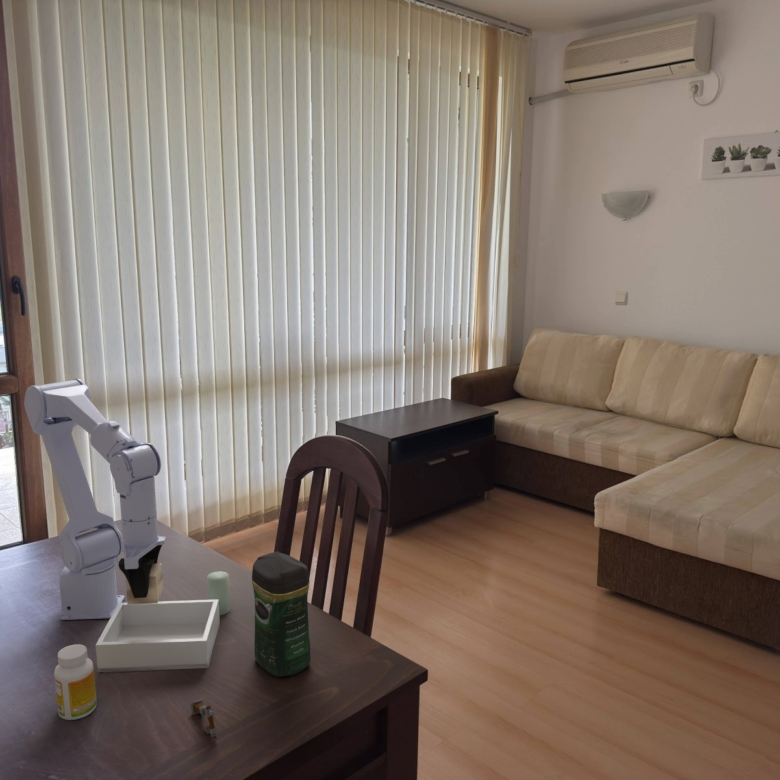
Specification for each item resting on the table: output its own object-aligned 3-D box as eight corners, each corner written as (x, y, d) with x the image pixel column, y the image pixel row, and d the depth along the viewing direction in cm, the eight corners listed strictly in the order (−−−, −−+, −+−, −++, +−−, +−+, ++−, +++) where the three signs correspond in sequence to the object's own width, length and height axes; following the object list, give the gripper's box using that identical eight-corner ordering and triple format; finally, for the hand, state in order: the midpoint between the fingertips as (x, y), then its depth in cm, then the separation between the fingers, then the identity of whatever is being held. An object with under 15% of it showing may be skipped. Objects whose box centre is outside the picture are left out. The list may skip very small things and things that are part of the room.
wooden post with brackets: (210, 742, 100) (204, 709, 101) (195, 732, 107) (190, 701, 108) (222, 737, 101) (217, 704, 102) (207, 728, 108) (201, 697, 109)
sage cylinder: (207, 615, 135) (205, 581, 133) (210, 605, 139) (208, 571, 137) (228, 615, 135) (227, 580, 134) (231, 604, 139) (230, 571, 138)
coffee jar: (318, 666, 119) (317, 563, 115) (277, 685, 114) (274, 577, 110) (287, 641, 127) (285, 543, 123) (247, 658, 122) (243, 556, 118)
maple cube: (127, 604, 123) (125, 577, 122) (134, 590, 128) (132, 564, 127) (157, 603, 123) (155, 576, 122) (163, 589, 128) (161, 563, 127)
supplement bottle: (103, 699, 111) (98, 642, 108) (85, 722, 105) (80, 663, 103) (70, 696, 111) (64, 640, 109) (50, 719, 106) (44, 660, 104)
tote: (97, 672, 117) (95, 645, 116) (121, 627, 130) (119, 602, 129) (207, 668, 119) (206, 640, 118) (219, 624, 132) (218, 599, 131)
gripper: (154, 531, 116) (159, 608, 119) (171, 499, 130) (175, 569, 133) (108, 533, 115) (115, 610, 118) (131, 500, 129) (136, 570, 132)
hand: (144, 589), depth 125 cm, fingers closed on maple cube, 5 cm apart
